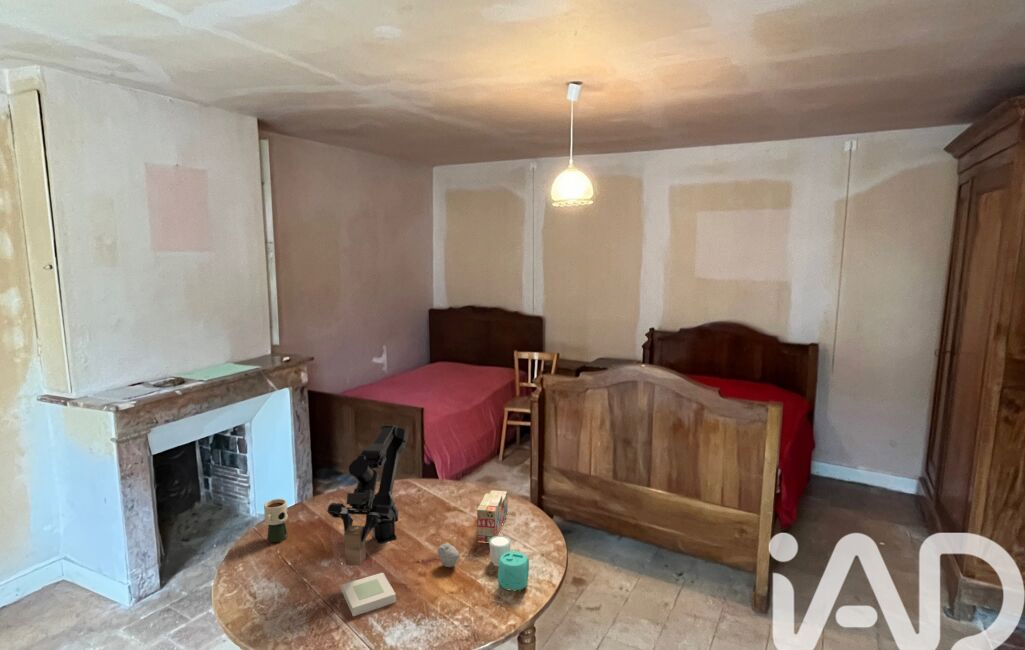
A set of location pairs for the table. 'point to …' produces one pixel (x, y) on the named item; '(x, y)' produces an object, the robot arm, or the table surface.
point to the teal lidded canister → (513, 570)
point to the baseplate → (368, 594)
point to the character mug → (276, 519)
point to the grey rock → (448, 555)
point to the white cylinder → (499, 547)
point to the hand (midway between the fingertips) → (354, 541)
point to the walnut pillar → (354, 546)
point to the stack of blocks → (491, 515)
